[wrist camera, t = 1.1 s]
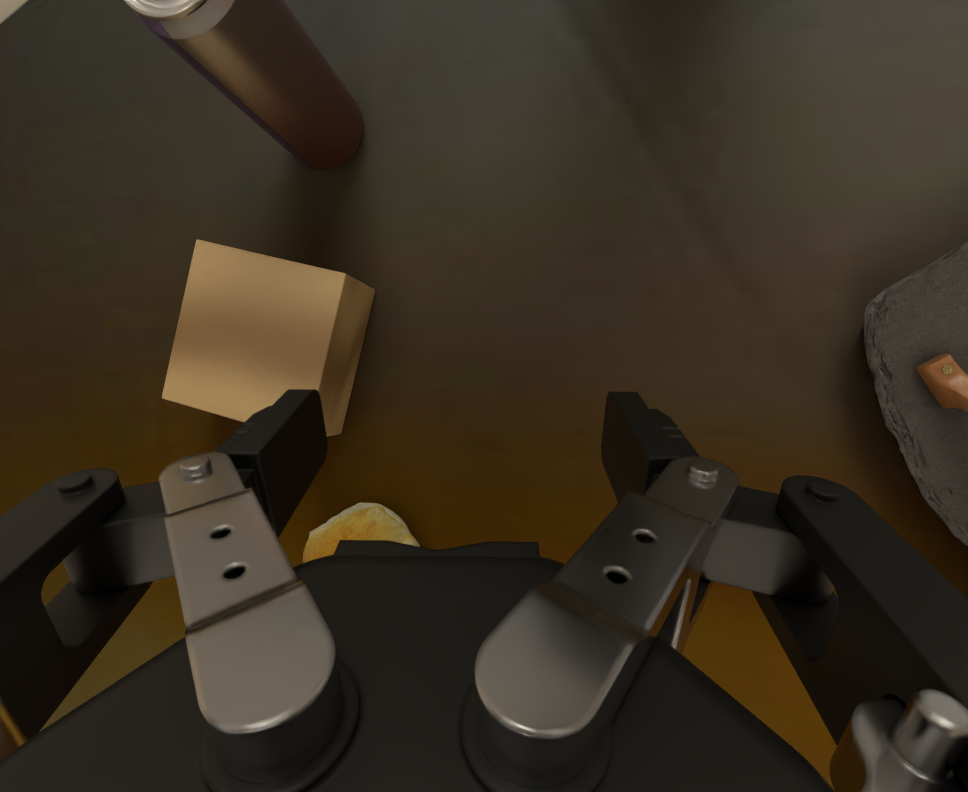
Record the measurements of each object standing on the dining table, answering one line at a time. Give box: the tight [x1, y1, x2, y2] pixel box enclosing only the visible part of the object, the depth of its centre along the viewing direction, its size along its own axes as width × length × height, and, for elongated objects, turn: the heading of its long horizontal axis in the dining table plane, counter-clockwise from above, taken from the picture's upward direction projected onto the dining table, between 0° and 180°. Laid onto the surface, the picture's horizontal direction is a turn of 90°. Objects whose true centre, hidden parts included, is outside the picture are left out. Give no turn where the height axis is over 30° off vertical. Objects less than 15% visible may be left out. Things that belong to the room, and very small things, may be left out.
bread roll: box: [303, 503, 420, 563], centre depth 34 cm, size 8×9×4 cm
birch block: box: [162, 240, 375, 437], centre depth 34 cm, size 11×11×5 cm
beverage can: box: [124, 0, 363, 169], centre depth 29 cm, size 6×6×15 cm
